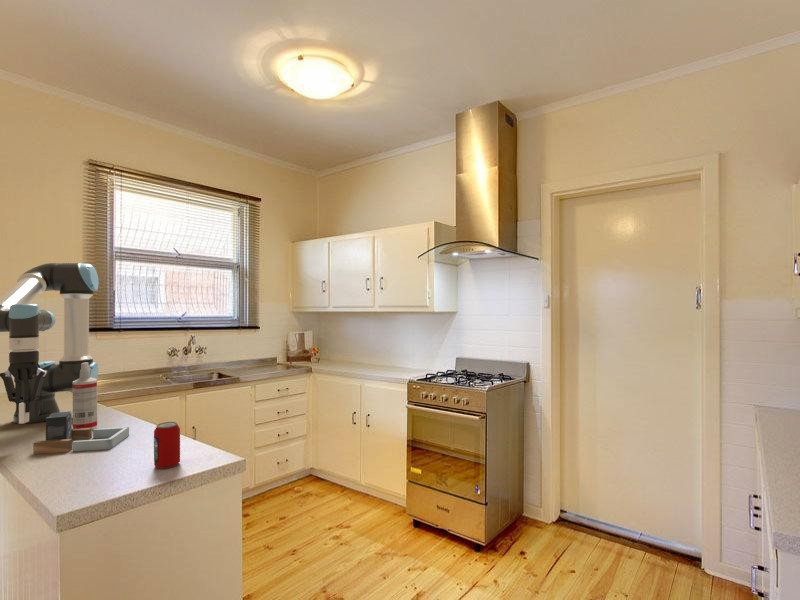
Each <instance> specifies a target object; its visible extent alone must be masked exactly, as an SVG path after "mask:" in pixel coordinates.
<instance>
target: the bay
mask: <svg viewBox="0 0 800 600" xmlns="http://www.w3.org/2000/svg"><path fill="white" fill-rule="evenodd" d="M92 434H93V435H92V438H93V439H88V440H72V452H81V451H82V452H83V451H95V450H96V451H97V450H99V451H100V450H111V449H113V448H114V447H116V446H117V445H118V444H120V443H121V442H122V441H123V440H125V439H126V438H128V437H129V436H130V427H129V426H127V427H126V426H125V427H107V428H106V427H105V428H95V429H93V430H92Z"/></svg>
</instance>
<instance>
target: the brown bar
mask: <svg viewBox="0 0 800 600" xmlns="http://www.w3.org/2000/svg"><path fill="white" fill-rule="evenodd" d="M92 434H93V430H92V428H80V429H73V428H72V439H61V440H46V439H45V440H37V441H34V442H33V443H32V445H33V448H32V449H33V455H38V454H54V453H64V452H65V453H68V452H69V453H70V452H71V451H73V441H80V440H91V439H92V438H93V435H92Z"/></svg>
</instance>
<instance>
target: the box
mask: <svg viewBox="0 0 800 600" xmlns="http://www.w3.org/2000/svg"><path fill="white" fill-rule="evenodd" d="M72 429H73V411H60V412H58V413H52V414H51V415H50V416H48V417H47V418H46V421H45V440H61V439H72Z"/></svg>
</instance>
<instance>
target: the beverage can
mask: <svg viewBox="0 0 800 600" xmlns="http://www.w3.org/2000/svg"><path fill="white" fill-rule="evenodd" d="M180 462H181V428H180V426H179V424H178V422H177V421H166V422H161V423H158V424H156V427H155V429H154V430H153V465H154V466H155V467H156V468H158V469H163V470H164V469H171V468H174V467H176V466H177V465H178V464H179V463H180Z"/></svg>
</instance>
